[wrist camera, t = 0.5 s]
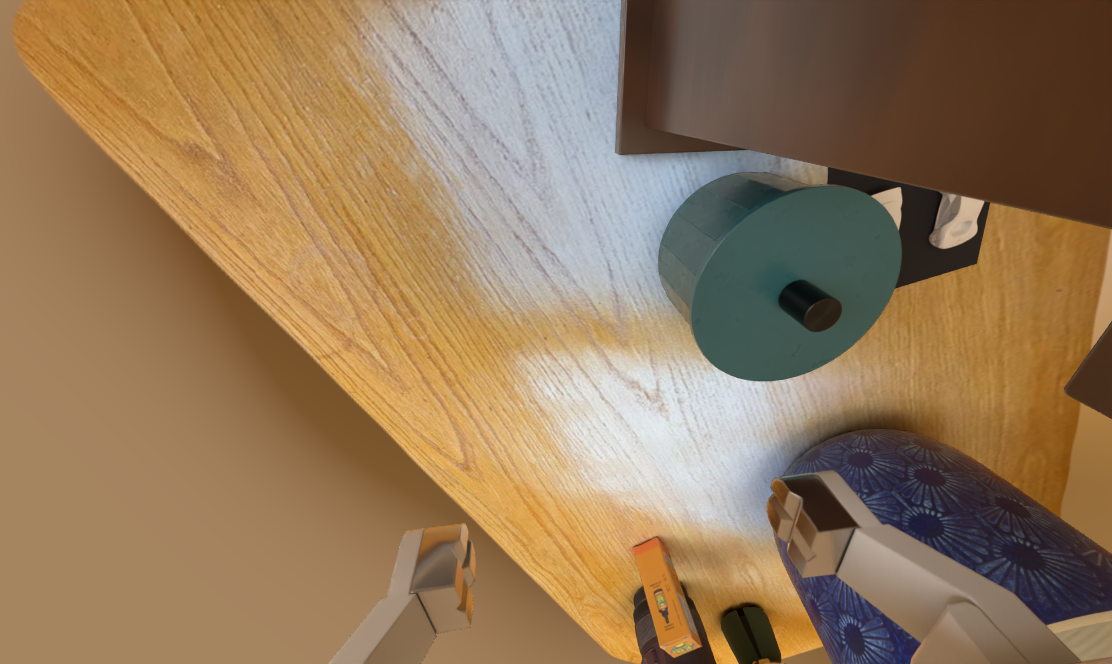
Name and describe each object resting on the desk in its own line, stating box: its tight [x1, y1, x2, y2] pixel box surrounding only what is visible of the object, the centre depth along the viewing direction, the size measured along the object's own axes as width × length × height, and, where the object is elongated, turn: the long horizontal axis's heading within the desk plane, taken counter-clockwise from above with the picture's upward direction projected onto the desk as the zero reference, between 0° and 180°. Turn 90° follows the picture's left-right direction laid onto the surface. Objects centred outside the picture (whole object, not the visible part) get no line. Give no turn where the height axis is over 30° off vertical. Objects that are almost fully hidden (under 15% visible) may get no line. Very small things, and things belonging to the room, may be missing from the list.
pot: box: [658, 172, 810, 325], centre depth 27 cm, size 11×11×8 cm
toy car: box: [871, 186, 985, 250], centre depth 30 cm, size 8×6×2 cm
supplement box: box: [633, 537, 702, 658], centre depth 43 cm, size 3×4×10 cm
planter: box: [773, 429, 1112, 664], centre depth 36 cm, size 21×21×19 cm
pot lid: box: [689, 184, 902, 381], centre depth 23 cm, size 12×12×4 cm
